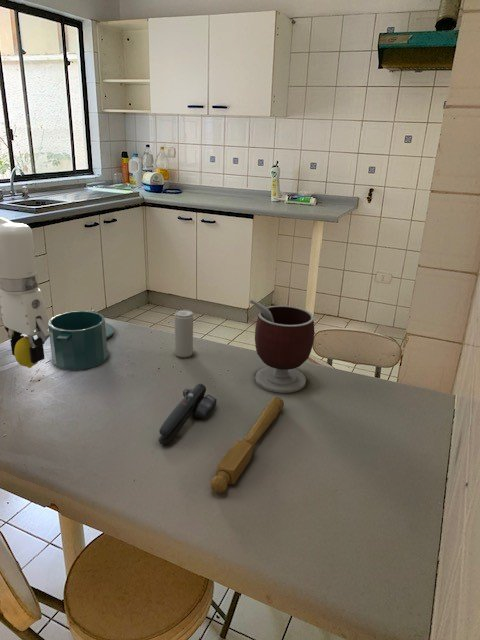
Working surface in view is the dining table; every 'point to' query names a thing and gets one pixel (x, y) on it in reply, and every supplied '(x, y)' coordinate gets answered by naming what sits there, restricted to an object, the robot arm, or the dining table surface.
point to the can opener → (187, 411)
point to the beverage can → (183, 333)
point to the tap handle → (244, 449)
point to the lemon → (23, 352)
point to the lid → (109, 330)
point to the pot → (78, 339)
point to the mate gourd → (283, 346)
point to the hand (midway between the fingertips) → (28, 356)
